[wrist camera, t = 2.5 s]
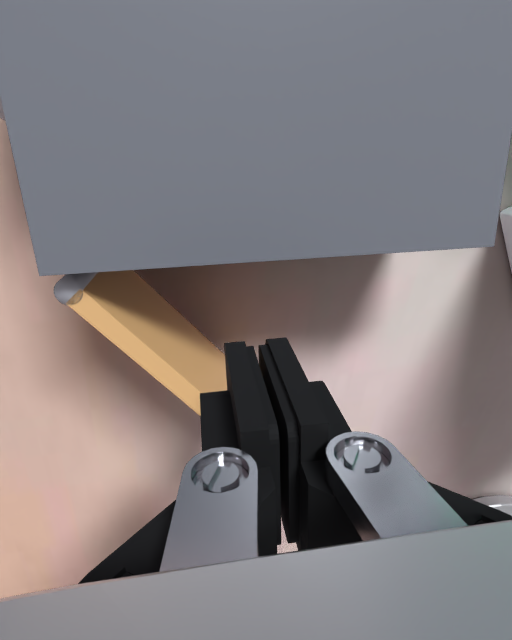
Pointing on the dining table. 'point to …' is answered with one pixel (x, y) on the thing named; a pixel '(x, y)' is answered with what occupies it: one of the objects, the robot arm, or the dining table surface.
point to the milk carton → (507, 230)
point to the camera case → (255, 128)
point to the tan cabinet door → (147, 331)
